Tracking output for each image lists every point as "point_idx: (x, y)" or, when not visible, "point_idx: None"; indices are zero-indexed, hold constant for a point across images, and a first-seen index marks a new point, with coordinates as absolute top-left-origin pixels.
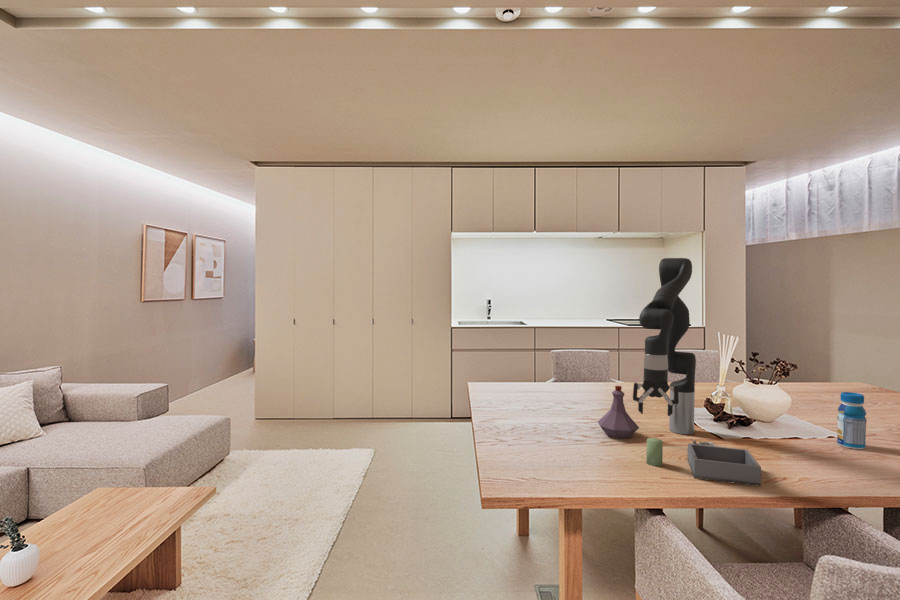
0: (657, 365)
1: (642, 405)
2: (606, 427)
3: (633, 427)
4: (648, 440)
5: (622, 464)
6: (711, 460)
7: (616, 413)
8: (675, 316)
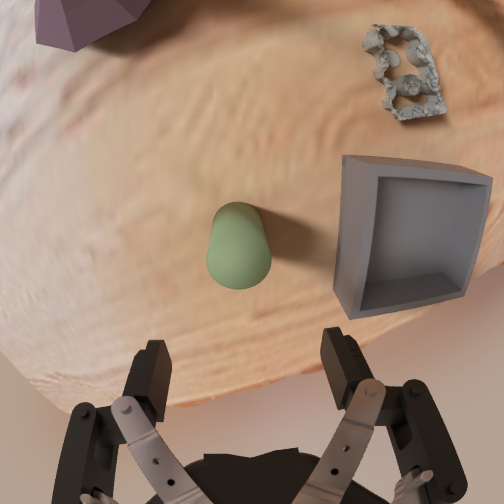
0: None
1: (162, 410)
2: (53, 45)
3: None
4: (214, 272)
5: (150, 270)
6: (389, 307)
7: None
8: None
